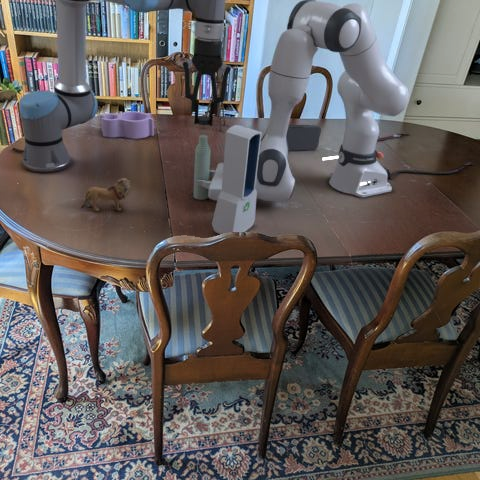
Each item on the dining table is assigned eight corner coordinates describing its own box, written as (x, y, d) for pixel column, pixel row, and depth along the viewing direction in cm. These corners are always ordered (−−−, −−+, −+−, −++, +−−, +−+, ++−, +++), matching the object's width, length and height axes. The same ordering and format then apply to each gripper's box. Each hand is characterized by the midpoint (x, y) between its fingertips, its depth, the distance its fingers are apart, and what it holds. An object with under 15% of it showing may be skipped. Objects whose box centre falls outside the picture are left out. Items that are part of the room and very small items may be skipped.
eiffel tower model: (220, 131, 201) (226, 58, 185) (202, 128, 202) (205, 55, 186) (225, 124, 209) (231, 54, 193) (207, 122, 210) (211, 51, 194)
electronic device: (232, 242, 129) (242, 138, 113) (210, 232, 132) (217, 130, 116) (255, 224, 138) (267, 126, 122) (233, 216, 141) (243, 119, 125)
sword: (406, 132, 223) (406, 130, 222) (411, 134, 221) (412, 132, 220) (362, 144, 207) (363, 141, 206) (368, 146, 205) (368, 143, 204)
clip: (103, 139, 182) (102, 122, 178) (101, 128, 192) (100, 111, 188) (155, 138, 188) (155, 121, 184) (150, 127, 198) (149, 111, 194)
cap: (195, 121, 138) (195, 116, 137) (208, 120, 139) (208, 116, 139) (198, 125, 135) (199, 120, 134) (211, 125, 136) (211, 120, 136)
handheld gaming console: (315, 147, 196) (319, 124, 190) (317, 149, 194) (322, 126, 188) (264, 149, 189) (267, 125, 183) (266, 152, 187) (269, 127, 181)
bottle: (204, 192, 153) (208, 133, 142) (210, 198, 149) (213, 138, 139) (191, 194, 151) (193, 134, 140) (196, 200, 148) (199, 139, 137)
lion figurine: (130, 201, 143) (129, 174, 138) (133, 209, 139) (132, 182, 134) (79, 205, 138) (76, 178, 133) (81, 214, 134) (78, 186, 129)
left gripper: (175, 37, 121) (173, 124, 134) (239, 45, 122) (231, 131, 134) (179, 32, 128) (177, 116, 140) (240, 39, 128) (232, 122, 141)
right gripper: (246, 161, 153) (205, 155, 154) (239, 188, 136) (192, 182, 137) (244, 178, 157) (204, 173, 157) (237, 207, 139) (192, 201, 140)
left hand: (203, 123), depth 137 cm, fingers closed on cap, 4 cm apart
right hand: (198, 177), depth 147 cm, fingers closed on bottle, 4 cm apart
